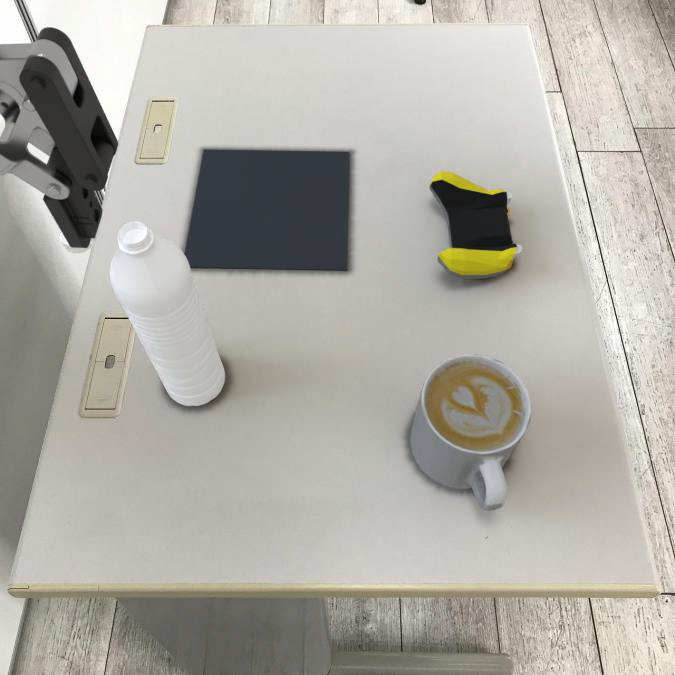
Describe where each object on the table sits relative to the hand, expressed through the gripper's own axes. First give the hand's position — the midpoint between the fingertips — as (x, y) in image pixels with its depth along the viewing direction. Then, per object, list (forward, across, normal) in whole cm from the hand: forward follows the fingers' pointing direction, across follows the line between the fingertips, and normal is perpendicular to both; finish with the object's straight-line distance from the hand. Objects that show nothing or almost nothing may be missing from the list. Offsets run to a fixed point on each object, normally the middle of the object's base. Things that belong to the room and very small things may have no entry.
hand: (1, 231), depth 32 cm
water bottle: (+38, 0, +10) cm, 39 cm away
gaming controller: (+38, +32, +32) cm, 59 cm away
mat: (+38, +6, +36) cm, 52 cm away
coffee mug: (+38, +29, +3) cm, 48 cm away
